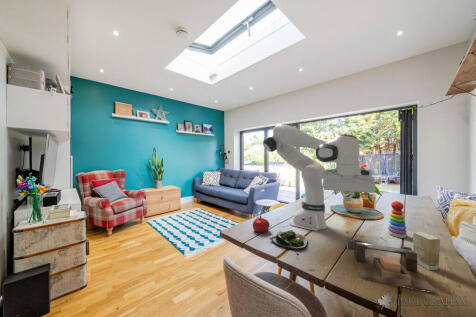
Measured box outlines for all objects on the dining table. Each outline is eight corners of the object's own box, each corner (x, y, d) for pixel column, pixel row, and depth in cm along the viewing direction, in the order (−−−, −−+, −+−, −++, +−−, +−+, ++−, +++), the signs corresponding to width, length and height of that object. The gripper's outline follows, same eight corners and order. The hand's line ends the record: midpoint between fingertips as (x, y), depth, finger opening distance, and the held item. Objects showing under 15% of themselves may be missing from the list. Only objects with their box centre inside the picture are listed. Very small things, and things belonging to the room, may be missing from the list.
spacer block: (384, 276, 63) (384, 262, 63) (380, 268, 67) (380, 255, 67) (400, 279, 61) (400, 265, 61) (394, 271, 65) (394, 258, 65)
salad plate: (278, 230, 105) (278, 222, 105) (309, 236, 97) (309, 228, 97) (267, 244, 88) (267, 235, 88) (304, 254, 80) (304, 244, 80)
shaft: (348, 249, 73) (348, 240, 73) (346, 245, 76) (346, 237, 76) (414, 260, 65) (414, 250, 65) (409, 255, 68) (409, 245, 68)
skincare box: (412, 260, 73) (412, 231, 73) (421, 260, 74) (421, 231, 73) (430, 270, 67) (430, 239, 67) (440, 270, 67) (440, 238, 67)
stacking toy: (411, 239, 92) (411, 203, 91) (393, 238, 93) (393, 203, 93) (400, 232, 99) (400, 200, 99) (384, 231, 101) (384, 199, 101)
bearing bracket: (361, 278, 63) (361, 256, 63) (352, 257, 76) (352, 239, 76) (436, 293, 56) (436, 269, 56) (411, 267, 69) (411, 247, 69)
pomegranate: (264, 236, 98) (264, 219, 97) (249, 231, 104) (249, 216, 103) (272, 229, 106) (272, 214, 105) (258, 225, 112) (258, 211, 111)
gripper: (322, 170, 80) (322, 200, 80) (377, 172, 72) (376, 205, 72) (321, 169, 86) (321, 197, 86) (372, 170, 78) (371, 201, 78)
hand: (347, 200), depth 79 cm, fingers closed
